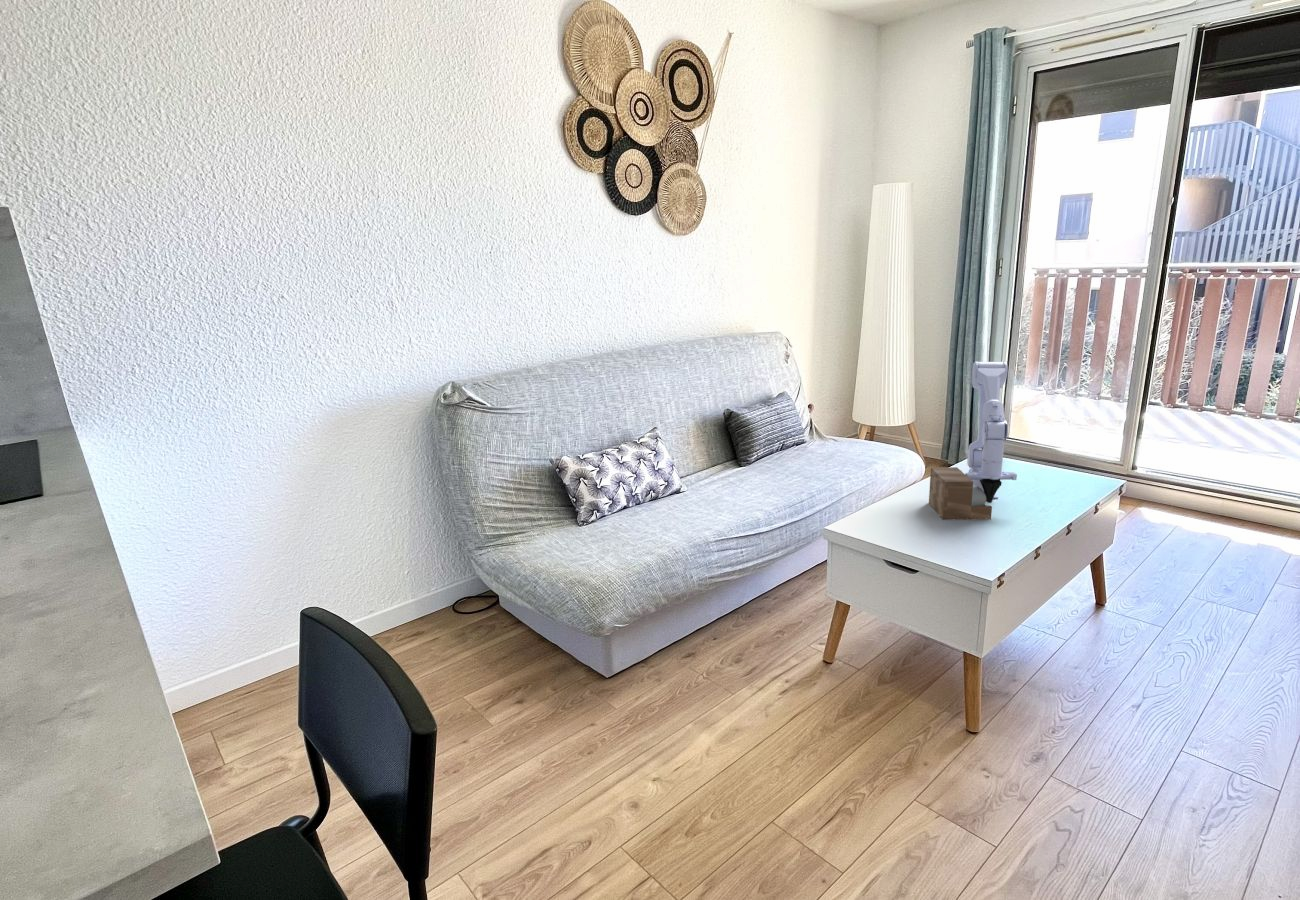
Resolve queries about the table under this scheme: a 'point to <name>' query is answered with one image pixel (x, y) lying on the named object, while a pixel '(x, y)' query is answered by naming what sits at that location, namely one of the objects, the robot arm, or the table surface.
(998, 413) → the robot arm
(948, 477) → the stepped wooden block
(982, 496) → the ceramic mug
